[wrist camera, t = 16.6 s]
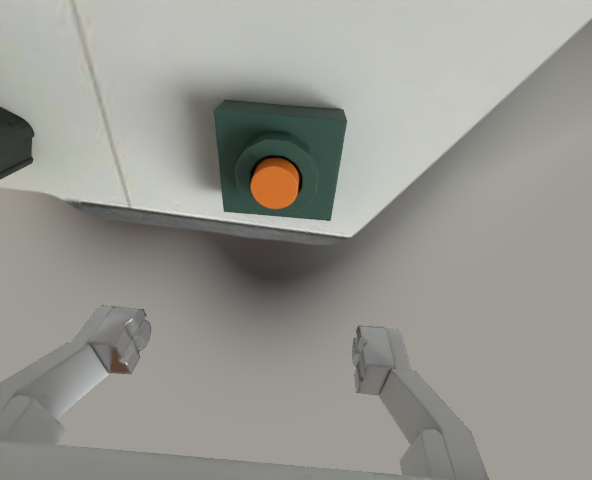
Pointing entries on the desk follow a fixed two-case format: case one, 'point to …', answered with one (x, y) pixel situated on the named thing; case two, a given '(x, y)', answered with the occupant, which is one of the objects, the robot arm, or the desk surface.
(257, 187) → the power button
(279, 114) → the base unit
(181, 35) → the desk surface
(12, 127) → the black and white post
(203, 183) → the desk surface
